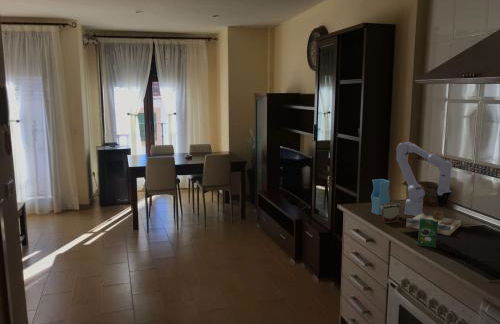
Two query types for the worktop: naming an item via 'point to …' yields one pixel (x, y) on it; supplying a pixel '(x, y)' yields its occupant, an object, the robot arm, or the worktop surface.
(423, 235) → the coffee box
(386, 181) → the vase
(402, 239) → the worktop surface
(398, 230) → the worktop surface
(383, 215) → the food container
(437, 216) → the block
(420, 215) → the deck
